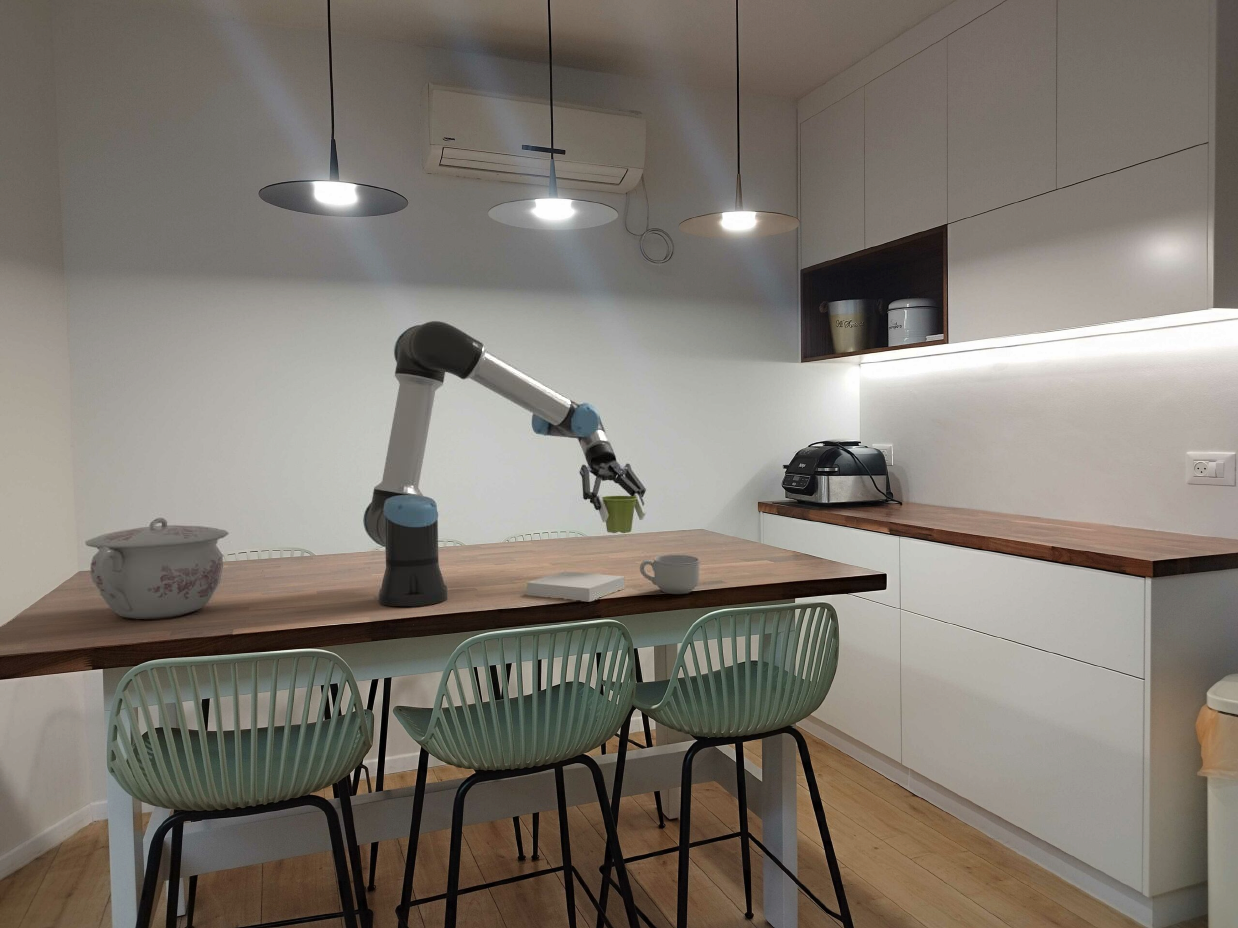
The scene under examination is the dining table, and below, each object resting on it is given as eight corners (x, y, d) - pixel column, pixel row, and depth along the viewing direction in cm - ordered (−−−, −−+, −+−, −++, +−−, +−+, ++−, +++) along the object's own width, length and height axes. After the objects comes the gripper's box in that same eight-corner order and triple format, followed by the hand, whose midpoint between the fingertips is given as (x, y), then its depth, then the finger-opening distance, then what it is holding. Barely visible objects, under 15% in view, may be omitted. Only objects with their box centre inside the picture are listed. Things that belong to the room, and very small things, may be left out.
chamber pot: (214, 594, 207) (210, 508, 206) (247, 613, 186) (243, 517, 185) (76, 612, 190) (72, 518, 189) (95, 635, 168) (90, 529, 167)
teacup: (700, 587, 207) (700, 554, 206) (700, 596, 196) (699, 561, 195) (642, 587, 208) (641, 554, 208) (638, 596, 197) (638, 561, 197)
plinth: (526, 595, 200) (526, 582, 200) (565, 583, 214) (565, 571, 214) (589, 601, 192) (589, 588, 192) (625, 589, 206) (624, 576, 206)
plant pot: (645, 531, 217) (645, 497, 217) (620, 535, 211) (619, 499, 210) (618, 528, 224) (618, 495, 223) (592, 532, 217) (592, 497, 217)
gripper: (631, 460, 235) (659, 524, 221) (555, 462, 226) (579, 529, 212) (640, 441, 230) (668, 505, 216) (562, 442, 221) (587, 509, 207)
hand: (624, 517), depth 214 cm, fingers closed on plant pot, 9 cm apart
